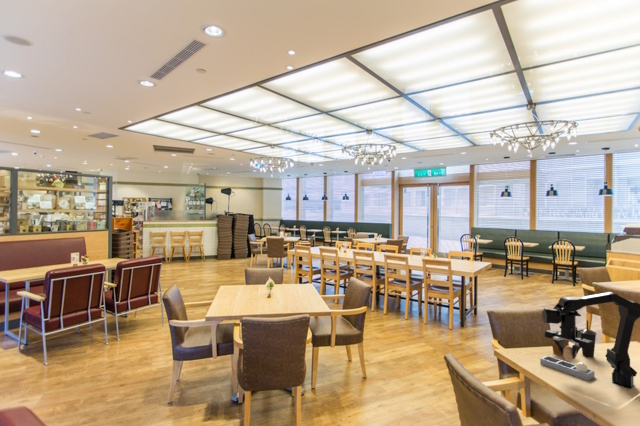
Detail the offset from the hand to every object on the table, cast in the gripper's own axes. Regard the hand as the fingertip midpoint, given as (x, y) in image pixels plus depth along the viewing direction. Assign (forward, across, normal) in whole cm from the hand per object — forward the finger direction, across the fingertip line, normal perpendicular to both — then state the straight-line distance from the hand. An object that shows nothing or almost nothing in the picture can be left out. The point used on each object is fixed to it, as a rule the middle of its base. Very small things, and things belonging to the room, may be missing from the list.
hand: (568, 356), depth 156 cm
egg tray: (+11, +5, -9) cm, 15 cm away
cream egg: (+10, -2, -9) cm, 14 cm away
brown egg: (+1, 0, 0) cm, 1 cm away
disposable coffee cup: (+11, +17, -30) cm, 36 cm away
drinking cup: (+11, +8, -41) cm, 43 cm away
